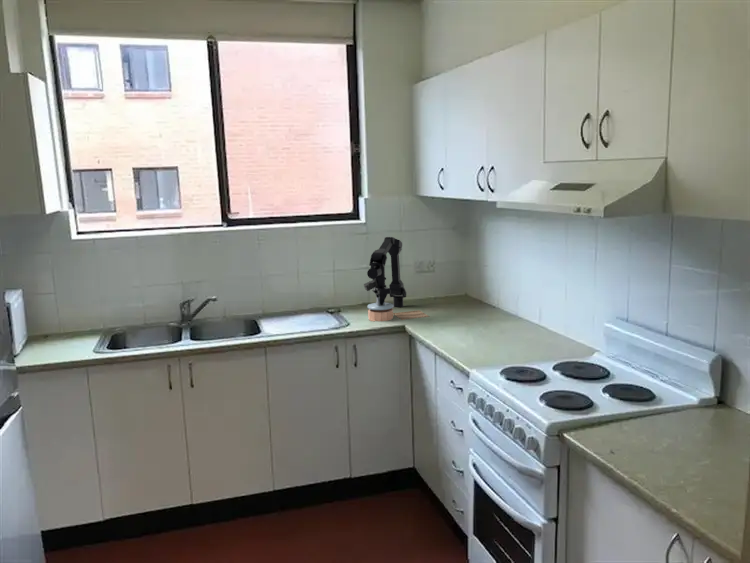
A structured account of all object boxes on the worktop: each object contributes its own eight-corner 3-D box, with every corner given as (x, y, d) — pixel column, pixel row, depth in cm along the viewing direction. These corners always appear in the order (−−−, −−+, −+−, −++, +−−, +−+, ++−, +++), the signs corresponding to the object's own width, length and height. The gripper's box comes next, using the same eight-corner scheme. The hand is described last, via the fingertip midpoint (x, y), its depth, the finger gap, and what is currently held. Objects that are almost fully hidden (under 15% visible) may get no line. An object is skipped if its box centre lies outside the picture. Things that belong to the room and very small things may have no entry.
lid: (364, 305, 339) (364, 296, 339) (388, 303, 343) (388, 294, 342) (371, 311, 326) (371, 301, 325) (397, 308, 330) (397, 299, 329)
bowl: (365, 317, 340) (365, 308, 339) (388, 315, 344) (388, 306, 343) (372, 322, 328) (372, 313, 327) (396, 320, 332) (396, 311, 331)
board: (392, 314, 346) (392, 313, 346) (419, 311, 351) (419, 310, 351) (401, 320, 331) (401, 319, 331) (429, 317, 336) (429, 316, 335)
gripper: (360, 274, 338) (361, 302, 341) (370, 279, 321) (371, 309, 323) (379, 272, 341) (380, 300, 344) (390, 277, 324) (391, 307, 327)
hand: (380, 304), depth 335 cm, fingers closed on lid, 3 cm apart
